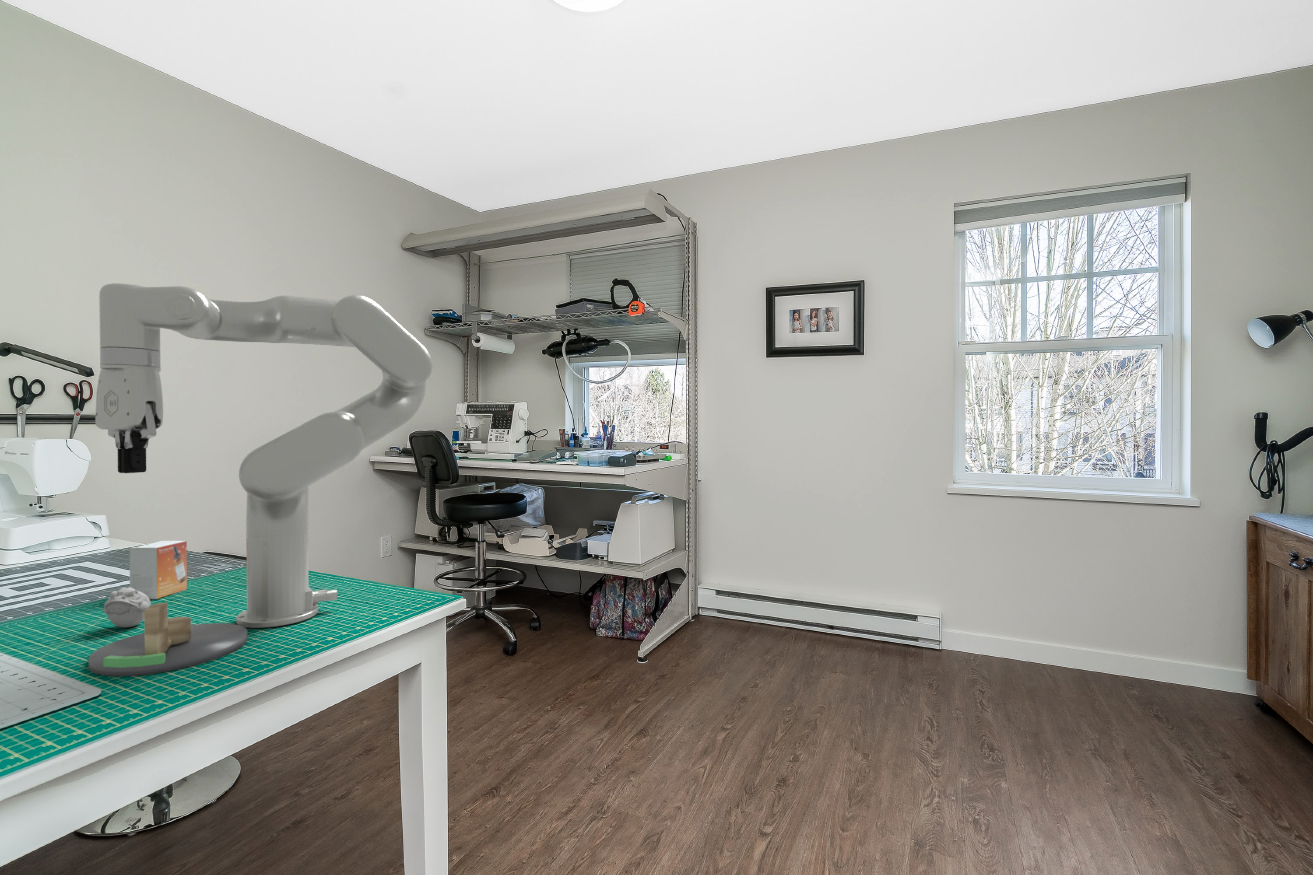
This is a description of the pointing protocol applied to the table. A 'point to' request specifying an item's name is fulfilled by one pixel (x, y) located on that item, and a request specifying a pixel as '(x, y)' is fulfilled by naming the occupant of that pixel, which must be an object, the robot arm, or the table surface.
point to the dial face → (168, 651)
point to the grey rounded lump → (126, 607)
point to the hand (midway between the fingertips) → (132, 472)
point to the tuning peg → (164, 629)
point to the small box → (159, 568)
